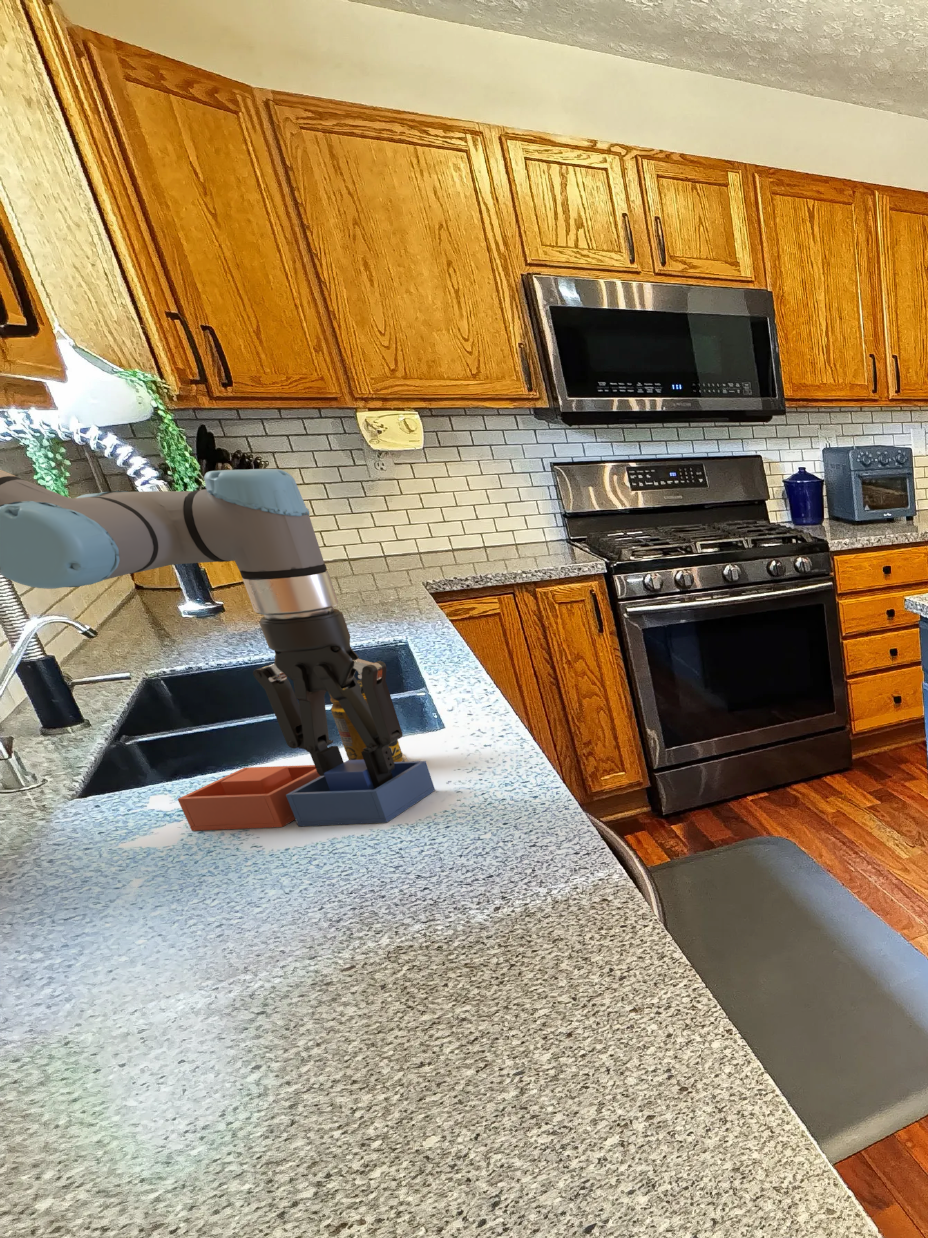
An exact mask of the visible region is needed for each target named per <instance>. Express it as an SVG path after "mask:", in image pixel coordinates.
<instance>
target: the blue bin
mask: <svg viewBox="0 0 928 1238" xmlns="http://www.w3.org/2000/svg"><path fill="white" fill-rule="evenodd" d="M408 761H409V762H394V764H395V769H394V770H392V771H391V773H392V776H393V778H392V779H391V780H389V781H387V782H386V783H384V784H382V785H381V786H379V787H377V788H376V789H374V790H350V791H330V789H329V787H328V784H327V781H326V779H325V776H320V777H318V778H316V779H314V780H312V781H311V782H309V783H307V784H305V785H303V786H301V787H299V788H297V789H296V790H294V791H292V792H290V793H288V794H286V797H287V799H288V802H289V804H290V807H291V809H292V812H293V814H294V817H295V822H296V824H297V826H298V827H312V826H313V827H314V826H317V827H318V826H339V825H363V824H385V823H389V822H390V821H392V820H393V819H395V818H396V817H398V816H399V815H401V814H402V813H404V812H406V810H409V808H411V807H412V806H414V805H415V804H417V803H418V802H420V801H421V800H423V799H425V798H426V797H428V796H429V795H430V794H432V793H433V792H435V791H436V789H435V786H434V782H433V780H432V779H433V778H432V776H431V773H430V769H429V765H428V764H427V761H426V760H408Z"/></svg>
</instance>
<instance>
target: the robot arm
mask: <svg viewBox="0 0 928 1238" xmlns="http://www.w3.org/2000/svg"><path fill="white" fill-rule="evenodd" d="M203 479H204V483H205V487H204V489H195V490H179V491H178V490H170V491H169V490H168V491H167V490H165V491H164V490H163V491H161V490H159V491H158V490H157V491H156V490H155V491H153V490H152V491H128V490H113V491H102V492H98V493H84V494H82V495H81V494H80V495H79V496H77V497H68V496H65V495H62V494H60V493H58V492H56V491H53V490H50V489H48V488H46V487H43V486H41V485H38V484H35V483H33V482H30V481H28V480H26V479H24V478H21V477H19V476H17V475H15V474H12V473H10V472H7V471H5V470H3V469H0V575H1V576H2V577H3V578H6V579H8V580H10V581H12V582H14V583H17V584H20V585H22V586H27V587H30V588H36V589H44V590H45V589H46V590H50V589H51V590H52V589H55V590H56V589H62V588H80V587H84V586H90V585H94V584H97V583H100V582H103V581H106V580H110V579H114V578H117V577H118V578H119V577H122V576H126V575H130V574H137V573H142V572H146V571H151V570H154V569H159V568H163V567H167V566H173V565H174V566H175V565H182V564H183V565H185V564H202V563H203V564H204V563H227V562H234V563H235V564H236V566H237V568H238V571H239V573H240V576H241V579H242V581H243V584H244V587H245V590H246V592H247V595H248V598H249V601H250V603H251V606H252V610H253V611H254V613H256V614H259V615H262V617H261V618H260V619H259V621H258V622H259V625H260V628H261V631H262V634H263V637H264V639H265V641H266V644H267V646H268V648H269V650H272V651H274V659H273V660H274V663H272V664H268V665H265V666H263V667H260V668H256V669H254V670H253V672H252V675H253V677H254V678H255V679H256V681H257V682H258V683H259V685H260V686H261V687H262V688H263V689H264V691H265V693H266V696H267V698H268V701H269V703H270V707H271V708H272V711H273V714H274V716H275V718H276V721H277V724H278V726H279V728H280V730H281V733H282V735H283V738H284V740H285V742H286V743H285V744H286V745H287V747H289V748H290V749H302V750H305V751H306V752H307V753H309V754H310V757H311V759H312V762H313V765H315V767H316V770H317V773H318V774H319V775H320V776H325V775H324V773H325V772H327V771H329V770H331V769H333V768H335V767H336V766H338V765H340V764H342V763H344V762H345V761H344V758H343V757H342V754H341V751H340V748H339V746H338V745H332V744H333V743H334V739H332V740H331V739H330V737H329V728H328V727H329V726H328V718H327V710H326V700H325V695H326V694H327V693H328V692H329V693H330V695H331V696H332V698H333V699H335V700H337V701H338V702H339V703H340V705H341V706H342V708H343V710H344V711H345V713H346V715H347V716H348V718H349V719H350V721H351V723H352V724H353V726H354V727H355V729H356V731H357V732H358V734H359V736H360V737H361V739H362V740H363V742H364V744H365V745H366V748H364V749H363V750H364V751H362V752H361V753H362V756H363V759H364V762H365V764H366V767H367V769H368V772H369V775H370V778H371V780H372V783H373V786H374V789H376V788H377V787H379V786H381V785H382V784H384V783H386V782H387V781H389V780H391V779H392V778H393V776H392V773H391V771H392V770H394V769H395V764H394V761H393V758H392V755H391V752H390V749H389V744H390V743H392V742H394V741H396V740H398V741H399V739H401V738H403V736H404V735H403V730H402V727H401V724H400V721H399V718H398V715H397V712H396V708H395V705H394V703H393V699H392V695H391V693H390V690H389V687H388V683H387V680H386V679H387V664H386V663H385V662H383V661H381V660H377V661H375V662H372V661H368V660H364V659H361V658H360V657H359V655H358V654H357V653H356V652H355V651H354V650H353V648H352V647H351V634H350V631H349V628H348V626H347V622H346V620H345V617H344V614H343V611H340V610H339V609H338V608H334V607H336V606H337V605H338V604H339V600H338V597H337V595H336V592H335V589H334V586H333V582H332V580H331V577H330V574H329V571H328V568H327V564H325V560H324V557H323V554H322V551H321V548H320V545H319V543H318V542H319V541H318V539H317V536H316V532H315V529H314V527H313V523H312V520H311V517H310V514H311V513H310V509H309V508H308V507H307V506H306V504H305V500H304V499H303V496H302V494H301V491H300V489H299V487H298V484H297V483H296V482H297V481H296V480H295V478H294V477H293V476H292V475H291V473H289V472H287V471H286V470H283V469H279V468H250V469H221V470H210V471H207V472H206V473H205V474H204V476H203ZM356 672H357V678H358V679H357V678H356V676H355V674H356ZM289 679H290V680H291V681H292V682H293V686H292V684H291V682H290V680H289ZM357 680H362V687H363V691H364V694H365V697H366V700H367V702H366V700H365V699H364V697H363V695H362V694H361V686H360V685H359V683H358V681H357ZM343 688H346V689H344V690H342V689H343ZM329 693H328V694H329ZM330 695H329V696H330ZM367 703H368V704H367ZM330 745H331V746H330ZM325 779H326V778H325ZM327 784H328V783H327ZM328 787H329V786H328ZM329 789H330V788H329Z"/></svg>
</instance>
